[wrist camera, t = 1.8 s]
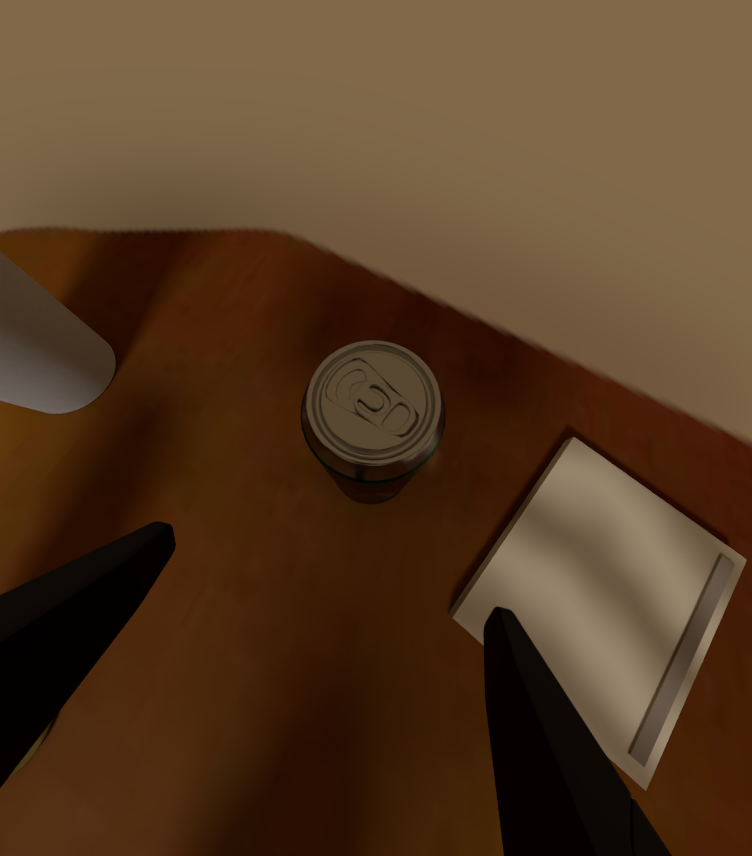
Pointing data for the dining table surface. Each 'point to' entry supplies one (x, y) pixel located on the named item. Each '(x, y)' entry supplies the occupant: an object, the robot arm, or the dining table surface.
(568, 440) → the white rectangular tray
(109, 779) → the dining table surface
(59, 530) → the dining table surface
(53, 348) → the coffee cup
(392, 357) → the soda can
